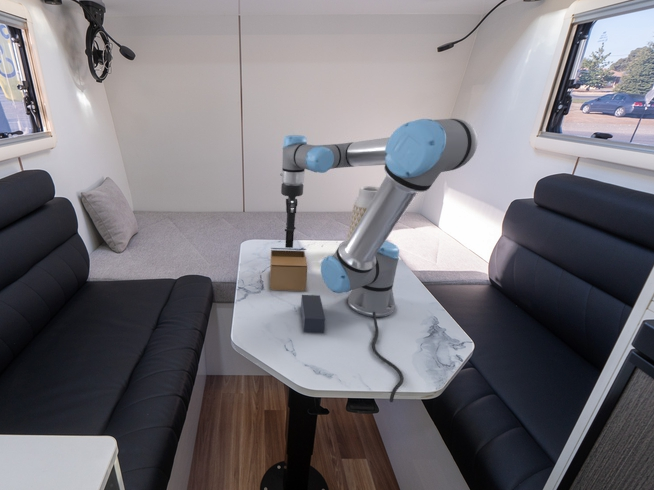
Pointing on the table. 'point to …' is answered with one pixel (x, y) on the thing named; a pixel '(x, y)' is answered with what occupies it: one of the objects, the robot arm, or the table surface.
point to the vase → (361, 206)
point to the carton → (288, 270)
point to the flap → (288, 248)
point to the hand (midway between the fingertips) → (289, 246)
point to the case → (312, 314)
